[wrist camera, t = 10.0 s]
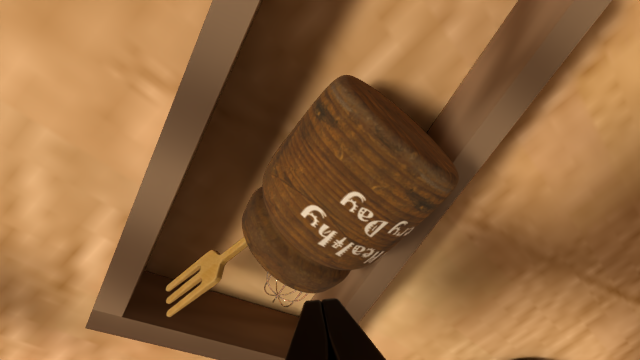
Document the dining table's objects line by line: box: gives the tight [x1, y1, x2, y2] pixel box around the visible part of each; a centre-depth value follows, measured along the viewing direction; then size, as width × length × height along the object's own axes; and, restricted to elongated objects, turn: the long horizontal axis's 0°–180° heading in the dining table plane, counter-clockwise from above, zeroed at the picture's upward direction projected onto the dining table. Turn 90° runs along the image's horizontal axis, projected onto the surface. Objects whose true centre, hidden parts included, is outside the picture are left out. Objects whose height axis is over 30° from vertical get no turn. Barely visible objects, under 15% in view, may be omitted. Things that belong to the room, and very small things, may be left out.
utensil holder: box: [166, 75, 459, 317], centre depth 15 cm, size 6×6×12 cm
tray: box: [86, 0, 612, 360], centre depth 15 cm, size 22×11×3 cm, turn 151°
